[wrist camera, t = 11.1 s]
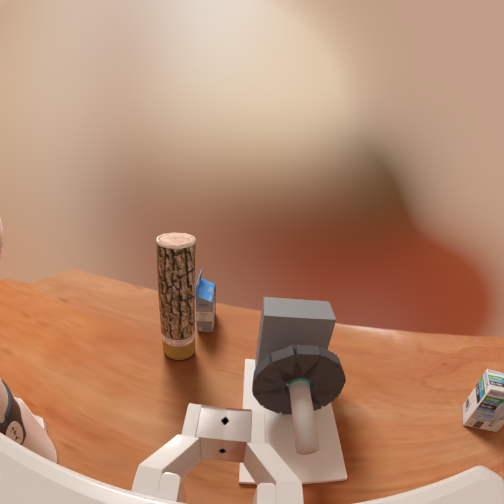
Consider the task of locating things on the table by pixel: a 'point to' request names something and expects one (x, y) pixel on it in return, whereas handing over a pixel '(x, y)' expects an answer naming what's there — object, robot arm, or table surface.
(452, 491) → the robot arm
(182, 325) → the paper tube
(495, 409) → the light bulb box
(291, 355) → the ring
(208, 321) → the label tape box
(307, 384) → the pipe rig
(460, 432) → the table surface
